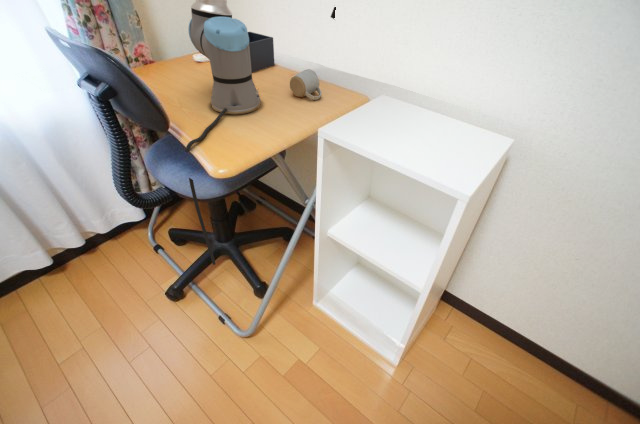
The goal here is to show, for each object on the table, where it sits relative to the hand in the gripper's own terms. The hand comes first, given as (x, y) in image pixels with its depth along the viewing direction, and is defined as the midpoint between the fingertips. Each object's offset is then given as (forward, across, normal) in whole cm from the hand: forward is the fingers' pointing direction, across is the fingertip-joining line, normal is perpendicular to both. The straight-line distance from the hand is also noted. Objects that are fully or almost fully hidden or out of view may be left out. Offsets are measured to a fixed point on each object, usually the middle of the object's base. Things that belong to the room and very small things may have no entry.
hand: (323, 14), depth 113 cm
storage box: (+28, +19, +11) cm, 36 cm away
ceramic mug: (+25, -19, +8) cm, 33 cm away
